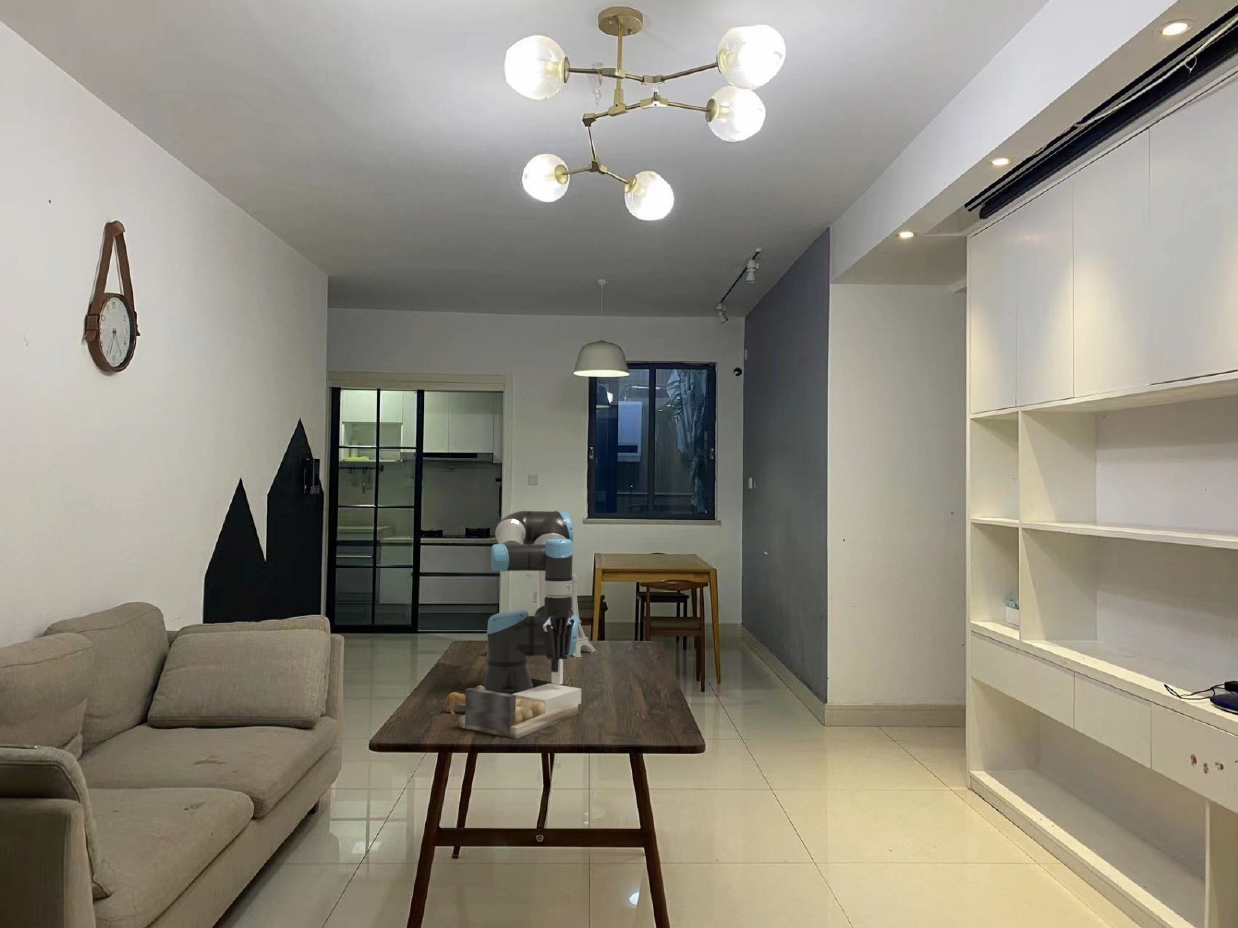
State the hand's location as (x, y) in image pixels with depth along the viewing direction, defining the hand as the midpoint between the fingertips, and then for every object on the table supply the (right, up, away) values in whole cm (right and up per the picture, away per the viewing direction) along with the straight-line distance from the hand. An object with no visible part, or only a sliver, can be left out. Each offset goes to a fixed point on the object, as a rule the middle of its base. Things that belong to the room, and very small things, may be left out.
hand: (557, 683), depth 228 cm
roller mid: (-12, -1, -19) cm, 22 cm away
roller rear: (-9, -3, -14) cm, 17 cm away
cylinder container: (-9, -10, +82) cm, 83 cm away
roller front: (-13, -1, -22) cm, 26 cm away
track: (-8, -6, -14) cm, 17 cm away
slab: (-2, -5, -3) cm, 7 cm away
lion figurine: (-24, -6, -8) cm, 26 cm away
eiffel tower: (0, -10, +75) cm, 76 cm away
